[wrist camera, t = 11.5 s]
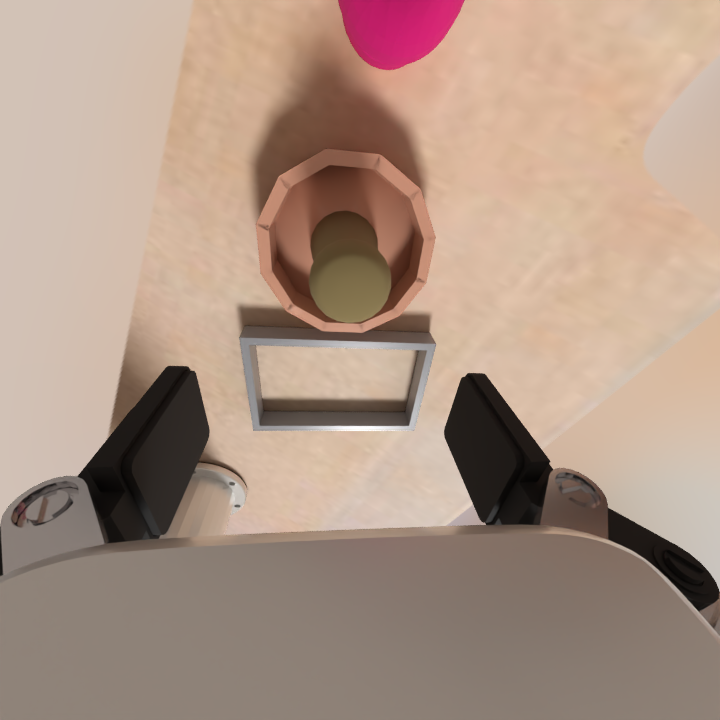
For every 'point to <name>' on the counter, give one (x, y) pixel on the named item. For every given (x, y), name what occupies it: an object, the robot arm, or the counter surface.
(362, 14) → the pepper mill
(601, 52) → the counter surface
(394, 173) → the bowl
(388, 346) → the grey rectangular frame
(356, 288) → the olive pestle
